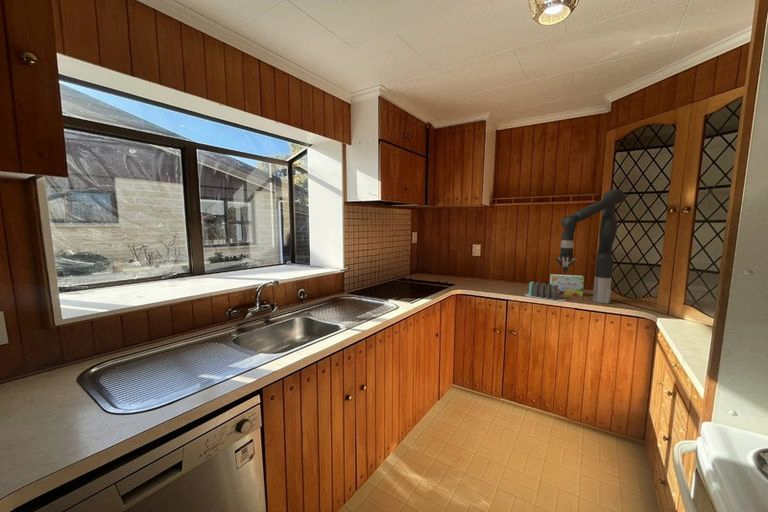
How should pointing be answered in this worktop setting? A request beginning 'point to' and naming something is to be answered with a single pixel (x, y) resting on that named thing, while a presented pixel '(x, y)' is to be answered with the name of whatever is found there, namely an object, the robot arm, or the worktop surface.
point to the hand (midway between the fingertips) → (565, 272)
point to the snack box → (568, 284)
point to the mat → (547, 299)
